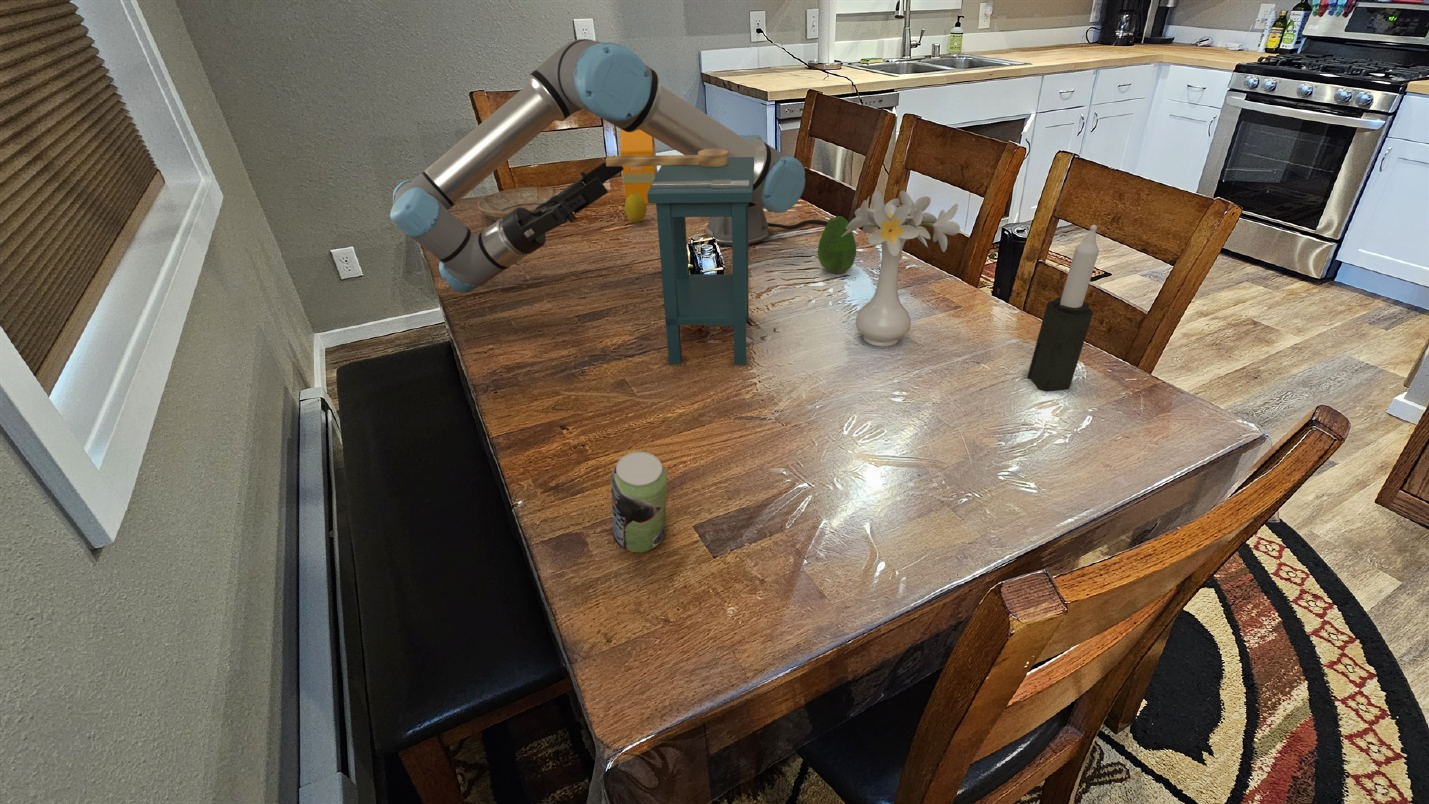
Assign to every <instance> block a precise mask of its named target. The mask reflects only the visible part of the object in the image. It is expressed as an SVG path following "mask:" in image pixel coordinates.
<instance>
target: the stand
mask: <svg viewBox="0 0 1429 804" xmlns="http://www.w3.org/2000/svg"><path fill="white" fill-rule="evenodd" d="M753 179H754V157H728V164H727V165H724V166H721V167H703V166H700V165H669V166H660V167H659V169H658V170H657V175H656V177H655V179H654V181H653V183H654V182H666V181H713V180H749V188H724V189H712V188H653V183H652V185H651V187H650V189H649V191H648V193H647V198H648V203H656V204H655V208H656V220H657V232H658V246H659V257H660V269H661V270H660V271H661V282H662V293H663V294H662V295H663V308H664V318H665V320H664V321H665V331H666V344H667V354H668V355H667V356H668V365H669V366H670V365H675V366H676V365H677V366H678V365H681V364H682V361H683V355H682V354H683V352H682V337H681V326H733V365H734V366H747V322H749V318H750V317H749V315H750V314H749V309H750V307H749V305H750V302H749V299H750V298H749V296H750V295H749V293H750V291H749V285H750V284H749V283H750V280H749V278H750V277H749V273H750V272H749V245H748V202H752V196H753ZM731 216H732V246H731V249H732V253H731V254H732V255H731V256H732V261H731V262H732V273H729V274H728V273H727V274H726V273H725V274H723V273H721V274H716V273H715V274H713V273H712V274H711V273H709V274H707V273H706V274H703V273H702V274H695V273H694V274H689V259H688V256H689V255H688V241H687V223H686V222H687V221H686V218H710V217H731Z"/></svg>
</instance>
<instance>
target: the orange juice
mask: <svg viewBox="0 0 1429 804" xmlns="http://www.w3.org/2000/svg"><path fill="white" fill-rule="evenodd" d="M619 129H620V128H619ZM619 132H620V133H619V134H620V137H619V138H620V156H657V154H656V144H655V138H654V137H652V136H650V135H648V134H647V133H645V132H643V131H641V130H636V131H634V132H630V133H629V132H626V131H624V130H622V129H620V131H619ZM622 167H623V168H624V169H623V170H622V171H621V172H622V180H623V181H622V182H623V188H624V198H625V200H626V199H627V198H628V197H629V196H630V195H632V194H633V193H636V194H638V195H640V196H641V197H642V198H643V199H644V201H645V204H646V205H656V203H648V198H647V193H648V191H649V189H650V187H651V185H652V183H653V181H654V179H655V177H656V175H657V173H658V166H622Z"/></svg>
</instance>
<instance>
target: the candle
mask: <svg viewBox="0 0 1429 804" xmlns="http://www.w3.org/2000/svg"><path fill="white" fill-rule="evenodd" d="M1097 229H1098V226H1097V225H1096V224H1092V225H1090V227H1089V231H1088V232H1087V234H1086V236H1085V237H1084V239H1083V240H1082V241H1081V242H1080V243H1079V244H1077V246H1076V247H1075V249H1074V252H1073V255H1072V259H1071V261H1070V262H1071V263H1070V265H1069V266H1070V267H1069V270H1068V273H1067V277H1066V280H1065V283H1064V287H1063V290H1062V294H1061V296H1059V297H1056V298H1055V299H1054V300H1050V301H1047V303H1046V307H1045V311H1044V314H1043V318H1042V321H1041V325H1040V329H1039V333H1038V337H1037V341H1036V343H1035V347H1034V351H1033V355H1032V358H1031V362H1030V366H1029V369H1028V373H1027V379H1028V380H1030V381H1031V382H1032V383H1033V384H1034V385H1035V386H1036V388H1037V390H1040V391H1042V392H1054V391H1066V390H1069V389H1070V387H1071V385H1072V381H1073V378H1074V376H1075V373H1076V370H1077V365H1078V363H1079V359H1080V356H1081V353H1082V350H1083V347H1084V345H1085V344H1084V343H1085V340H1086V339H1087V334H1088V331H1089V328H1090V325H1091V322H1092V318H1093V316H1094V311H1093V310H1092V308H1091V309H1090V308H1089V307H1090V304H1089V303H1087V302H1086V300H1085V298H1086V296H1087V292H1088V289H1089V285H1090V282H1091V280H1092V279H1091V278H1092V275H1093V272H1094V269H1095V266H1096V262H1097V259H1098V256H1099V253H1100V249H1099V247H1098V244H1097V235H1096V234H1097V233H1096V231H1097Z"/></svg>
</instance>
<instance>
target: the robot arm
mask: <svg viewBox="0 0 1429 804" xmlns="http://www.w3.org/2000/svg"><path fill="white" fill-rule="evenodd" d="M582 110H584V111H586V112H588V113H591V114H593V115H595V116H597V117H598V118H600V119H602V120H604V121H606V122H608V123H610V124H611V125H613V126H615V127H617V128H618V129H622V130H624V131H626V132H629V133H630V132H634V131H636V130H641V131H643V132H645V133H647V134H648V135H650V136H652V137H654V140H657V141H659V142H660V143H662V144H664V145H666V146H668V147H669V148H671V149H673V150H675V151H676V152H678V153H680V154H681V155H698V152H699V151H701V150H704V149H714V148H716V149H724V150H727V151H728V157H754V179H753V196H752V202H748V246H752V245H753V246H754V245H757V244H760V243H762V242H765V241H766V240H767V239H768V238H769V235H770V229H769V228H778V229H784V230H793V229H797V228H799V227H801V226H804V225H808V224H820V225H825V226H826V225H827V223H828V221H829V220H828V221H826V220H822V219H808V220H802V221H800V222H797V223H795V224H792V225H791V224H789V225H785V224H780V223H770V222H768V220H767V218H766V213H765V211H764V209H765V210H766V211H768V212H769V213H776V214H780V213H785V212H787V211H788V210H790V209H792V208H793V207H794V206H795V205H796V204H797V203H798V202H799V200H800V198H801V197H802V195H803V192H804V190H805V187H806V171H805V168H804V165H803V163H801V161H800V160H799V159H797V158H796V157H794V156H793V155H786V154H785V153H783V152H781V151H778V150H777V149H776V148H775V147H772V146H771V145H769V144H768V143H767V142H765V141H763V138H762V136H761V135H758V134H741V135H739V134H738V133H736V132H734V131H733V130H732V129H730V128H728V127H727V126H725V125H724V124H722V123H720V122H719V121H718V120H716V119H714V118H713V117H711V116H710V115H708V114H706V113H705V112H703V111H701V110H700V109H699V108H697V107H696V106H694V105H692V104H691V103H689V101H687V100H684V99H683V98H681V97H680V96H678V95H677V94H675V93H673V92H672V91H670V90H669V89H667V88H666V87H664V86H662V85H661V82H660V77H659V74H658V72H657V71H656V70H654V69H652V68H651V67H650V66H648V65H647V64H645V63H644V61H643V60H642V58H641V57H640V56H639V55H638V54H636V53H635V52H634V51H633V50H631V49H630V48H629V47H627V46H624V45H622V44H619V43H616V42H610V41H608V42H605V41H604V42H603V41H597V40H593V39H587V38H581V39H580V38H578V39H576V40H572V41H570V42H568V43H566V44H565V45H563V46H562V47H560V48H559V49H558V50H556V51H555V52H554V53H553V54H552V55H551V56H549V57H548V58H547V59H546V60H545V61H544V62H542V63H541V64H540V65H539V66H538V67H537V68H536V69H535V70H533V71H532V72H531V73H529V75H528V76H527V84H526V85H525V86H524V87H522V89H520V90H519V91H518V92H516V93H515V94H514V95H513V96H512V97H511V98H509V99H508V100H507V101H505V103H504V104H502V105H501V106H500V107H499V108H497V109H496V110H495V111H494V112H493V113H492V114H490V116H488V117H487V118H486V119H485V120H483V121H482V122H481V123H480V124H478V125H477V126H476V127H474V128H473V129H472V130H471V131H470V132H468V134H466V135H465V136H464V137H463V138H462V139H460V140H459V141H458V142H457V143H456V144H455V145H454V146H452V147H451V148H449V150H448V151H446V152H445V153H444V154H443V155H441V156H440V157H438V159H436V161H434V162H433V163H432V164H431V165H429V166H428V167H427V168H426V169H424V170H423V172H421V173H420V174H418V175H417V176H416V177H415V178H414V179H407V180H403V181H402V182H400V183H399V184H397V185H396V186H395V188H394V190H393V193H392V204H393V205H392V207H391V210H390V213H389V217H390V220H391V222H392V223H394V224H395V225H396V226H397V227H398V228H399V229H400V230H401V231H402V232H403V233H404V234H405V235H406V236H409V237H410V238H411V239H413V240H414V241H415V242H416V243H418V245H420V246H422V247H423V248H424V249H425V250H426V251H428V253H431V255H433V256H434V257H435V258H437V260H439V263H438V271H439V274H440V276H441V278H442V279H443V280H444V281H445V282H446V285H447V286H448V287H449V288H451V289H452V290H454V291H455V292H457V293H460V294H461V293H462V294H465V293H470V292H472V291H474V290H475V289H478V288H479V287H482V286H485V285H486V284H487V283H488V282H489V281H490V280H492V279H493V278H495V277H496V276H498V275H499V274H501V273H502V272H504V271H505V270H507V269H509V268H510V267H512V266H513V265H516V266H520V265H521V264H522V261H521V260H523V259H524V258H526V257H527V256H528V255H531V254H532V253H534V252H535V251H537V250H538V249H540V248H542V247H543V246H544V245H545V244H546V241H547V236H546V233H548V232H550V231H552V230H554V229H556V228H558V227H559V226H562V225H565V224H566V223H567V221H569V222H570V223H574V221H575V220H577V217H576V216H575V215H576V214H578V213H579V212H581V211H582V210H584V209H585V208H587V207H588V206H590V205H591V204H593V203H594V202H596V201H598V200H599V199H600V198H602V197H604V196H605V195H607V194H608V193H609V191H608V189H607V188H606V186H605V185H604V183H606V182H608V181H609V180H610V179H612V178H613V177H615V176H616V175H618V174H619V173H621V172H623V171H622V170H623V169H624V168H623V167H622V166H606V160H604V162H602V163H601V164H599V165H597V166H596V167H595V168H593V169H592V170H590V171H589V172H587V173H586V172H585V171H584V170H583V171H581V172H580V173H579V174H580V175H581V177H580V178H578V179H576V180H575V181H574V182H573V183H571V184H570V185H568V186H567V187H566V188H565V189H563V190H561V191H562V192H560V193H559V194H558V195H556V196H553V197H552V198H550V199H549V200H548V201H546V202H545V203H542V204H540V205H539V206H537V207H536V208H535V210H534V211H532V212H530V211H529V210H527V209H525V208H522V207H518V208H516V209H514V210H513V211H512V212H510V213H509V214H507V215H506V216H504V217H503V219H499V220H498V221H496V220H495V222H493V223H492V224H490V225H489V226H487V227H486V228H484V229H483V230H482V231H481V232H479V233H478V234H477V233H476V234H475V233H474V232H472V231H471V229H469V227H467V226H466V225H465V224H464V223H462V222H461V221H460V220H459V219H458V218H457V217H456V216H455V215H454V214H452V212H451V211H449V210H450V209H452V208H453V207H454V206H455V205H456V204H457V203H458V202H459V201H461V200H462V199H463V198H464V197H465V196H467V195H468V194H469V193H470V192H471V191H472V190H474V189H475V188H476V187H478V185H480V184H481V183H482V182H483V181H485V180H486V179H487V178H488V177H490V176H491V175H492V174H493V173H495V171H496V170H498V169H499V168H501V166H502V165H504V164H505V163H506V162H508V161H509V159H511V158H512V157H513V156H514V155H516V154H517V153H519V151H521V150H522V149H523V148H524V147H525V146H526V145H528V144H529V143H530V142H531V141H532V140H534V139H535V138H536V137H537V136H539V134H541V133H542V132H543V131H544V130H545V129H546V128H548V127H549V126H550V125H552V124H553V123H554V122H556V121H557V122H564V121H565V120H567V119H568V118H569V117H570V116H571V115H573V114H574V113H577V112H580V111H582ZM613 156H616V155H613ZM855 217H856V216H854V217H852V218H850V219H848V220H847V221H848V223H850V222H851V221H852V220H853V219H855ZM705 232H706V233H705V234H706V238H707V237H714V238H715V239H716V240H717V244H716V245H718V246H719V245H720V246H725V247H732V216H731V217H708V222H707V225H706V229H705Z"/></svg>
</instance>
